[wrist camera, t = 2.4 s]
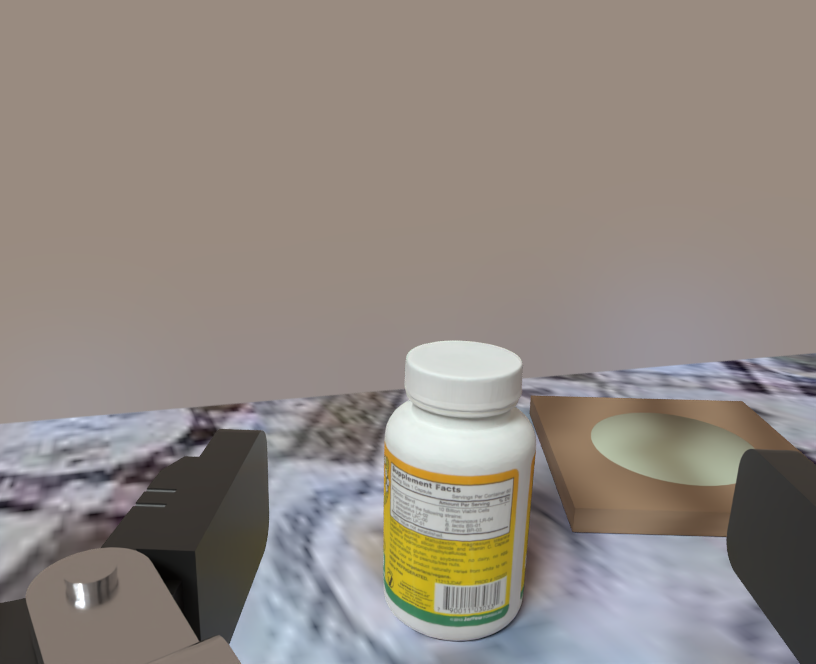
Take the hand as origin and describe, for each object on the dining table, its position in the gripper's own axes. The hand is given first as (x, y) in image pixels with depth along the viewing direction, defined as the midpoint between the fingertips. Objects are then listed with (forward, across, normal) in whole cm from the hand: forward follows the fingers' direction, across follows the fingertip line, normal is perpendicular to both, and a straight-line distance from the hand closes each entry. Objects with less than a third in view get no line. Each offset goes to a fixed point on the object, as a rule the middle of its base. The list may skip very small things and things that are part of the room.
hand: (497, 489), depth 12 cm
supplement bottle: (+12, 0, +11) cm, 16 cm away
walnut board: (+23, -12, +11) cm, 28 cm away
